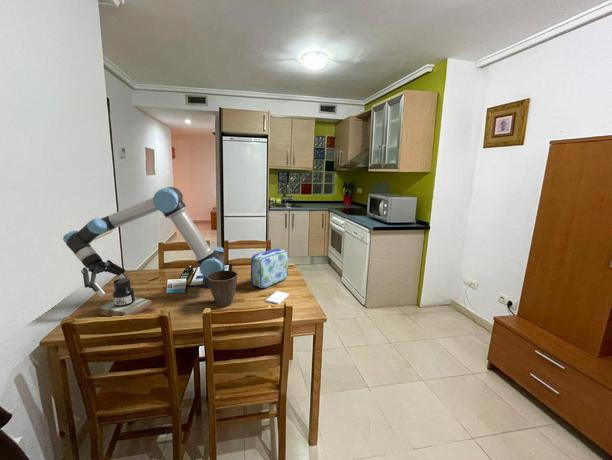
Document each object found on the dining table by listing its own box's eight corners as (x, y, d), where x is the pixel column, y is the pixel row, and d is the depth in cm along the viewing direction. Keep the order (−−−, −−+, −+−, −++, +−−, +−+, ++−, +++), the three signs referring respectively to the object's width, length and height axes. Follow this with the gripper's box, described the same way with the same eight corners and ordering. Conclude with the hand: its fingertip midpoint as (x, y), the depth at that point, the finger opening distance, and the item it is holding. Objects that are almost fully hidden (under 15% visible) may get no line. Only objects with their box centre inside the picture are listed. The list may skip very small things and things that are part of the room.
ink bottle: (109, 307, 137) (106, 284, 135) (119, 299, 146) (116, 277, 144) (130, 307, 138) (127, 283, 136) (139, 299, 147) (136, 277, 144)
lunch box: (278, 274, 193) (278, 244, 189) (290, 278, 187) (290, 247, 182) (249, 286, 173) (247, 253, 168) (261, 291, 166) (260, 257, 162)
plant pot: (207, 311, 142) (205, 281, 139) (210, 298, 156) (209, 271, 153) (238, 309, 145) (237, 279, 142) (238, 296, 159) (237, 269, 156)
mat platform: (151, 305, 147) (151, 299, 147) (126, 320, 133) (125, 313, 133) (124, 300, 152) (123, 294, 152) (97, 314, 138) (96, 307, 138)
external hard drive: (289, 296, 162) (278, 305, 151) (276, 293, 165) (265, 302, 154) (289, 293, 162) (278, 302, 150) (276, 290, 165) (265, 299, 154)
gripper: (109, 255, 155) (134, 284, 154) (59, 270, 132) (87, 305, 131) (115, 246, 153) (140, 276, 152) (65, 260, 129) (95, 295, 128)
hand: (116, 289), depth 141 cm, fingers open, 13 cm apart
